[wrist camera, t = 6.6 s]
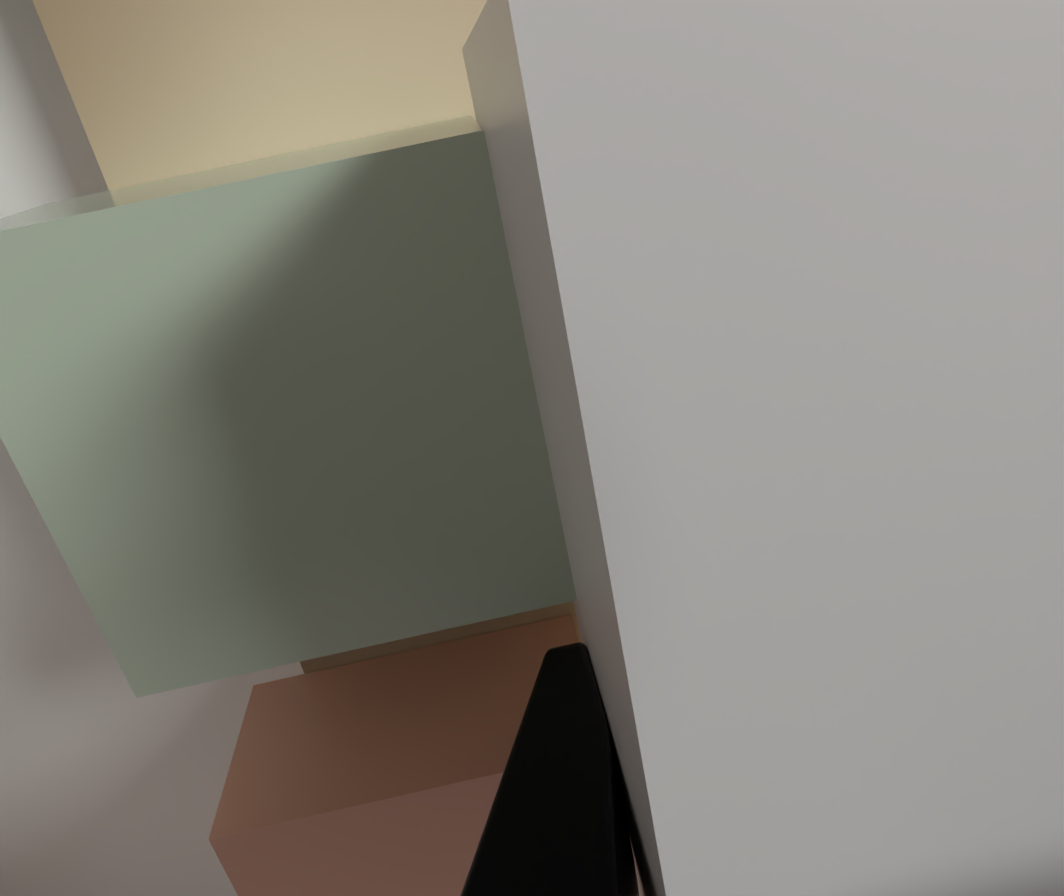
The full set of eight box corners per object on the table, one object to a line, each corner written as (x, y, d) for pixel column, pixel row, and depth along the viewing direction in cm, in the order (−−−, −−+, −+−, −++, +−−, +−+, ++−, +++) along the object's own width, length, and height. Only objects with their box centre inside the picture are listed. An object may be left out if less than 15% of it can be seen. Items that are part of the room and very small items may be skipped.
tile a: (615, 833, 13) (653, 989, 11) (345, 895, 13) (327, 1066, 11) (571, 613, 11) (605, 749, 9) (253, 685, 11) (209, 839, 9)
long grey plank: (804, 898, 12) (1024, 1385, 8) (639, 935, 12) (763, 1450, 7) (740, -9, 7) (1270, -184, 3) (462, 49, 7) (503, -32, 3)
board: (1027, 775, 16) (1082, 840, 15) (433, 914, 16) (433, 993, 14) (1144, -347, 9) (1274, -423, 7) (43, -118, 8) (-32, -156, 7)
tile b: (545, 486, 10) (576, 599, 8) (201, 561, 10) (136, 697, 8) (470, 114, 8) (485, 129, 6) (45, 203, 8) (-96, 250, 6)
